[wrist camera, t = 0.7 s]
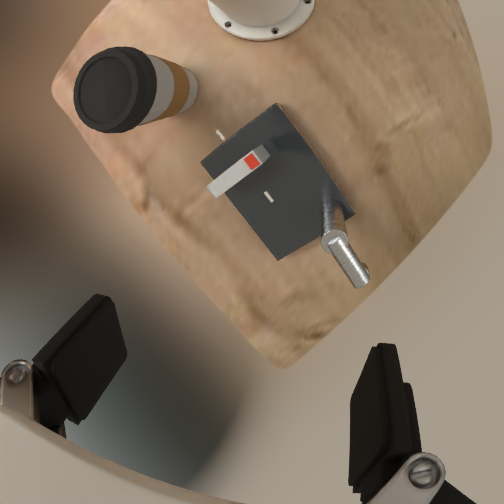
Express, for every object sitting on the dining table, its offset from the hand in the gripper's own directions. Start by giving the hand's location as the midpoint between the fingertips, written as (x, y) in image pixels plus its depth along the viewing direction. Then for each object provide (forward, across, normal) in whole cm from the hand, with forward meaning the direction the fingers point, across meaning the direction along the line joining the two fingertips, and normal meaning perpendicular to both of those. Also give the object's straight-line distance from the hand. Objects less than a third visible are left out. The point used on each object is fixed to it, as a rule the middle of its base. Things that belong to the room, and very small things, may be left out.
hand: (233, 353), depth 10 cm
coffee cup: (+30, +16, -10) cm, 35 cm away
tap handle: (+26, +6, -1) cm, 27 cm away
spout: (+26, -6, +5) cm, 27 cm away
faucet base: (+30, +2, +1) cm, 30 cm away
